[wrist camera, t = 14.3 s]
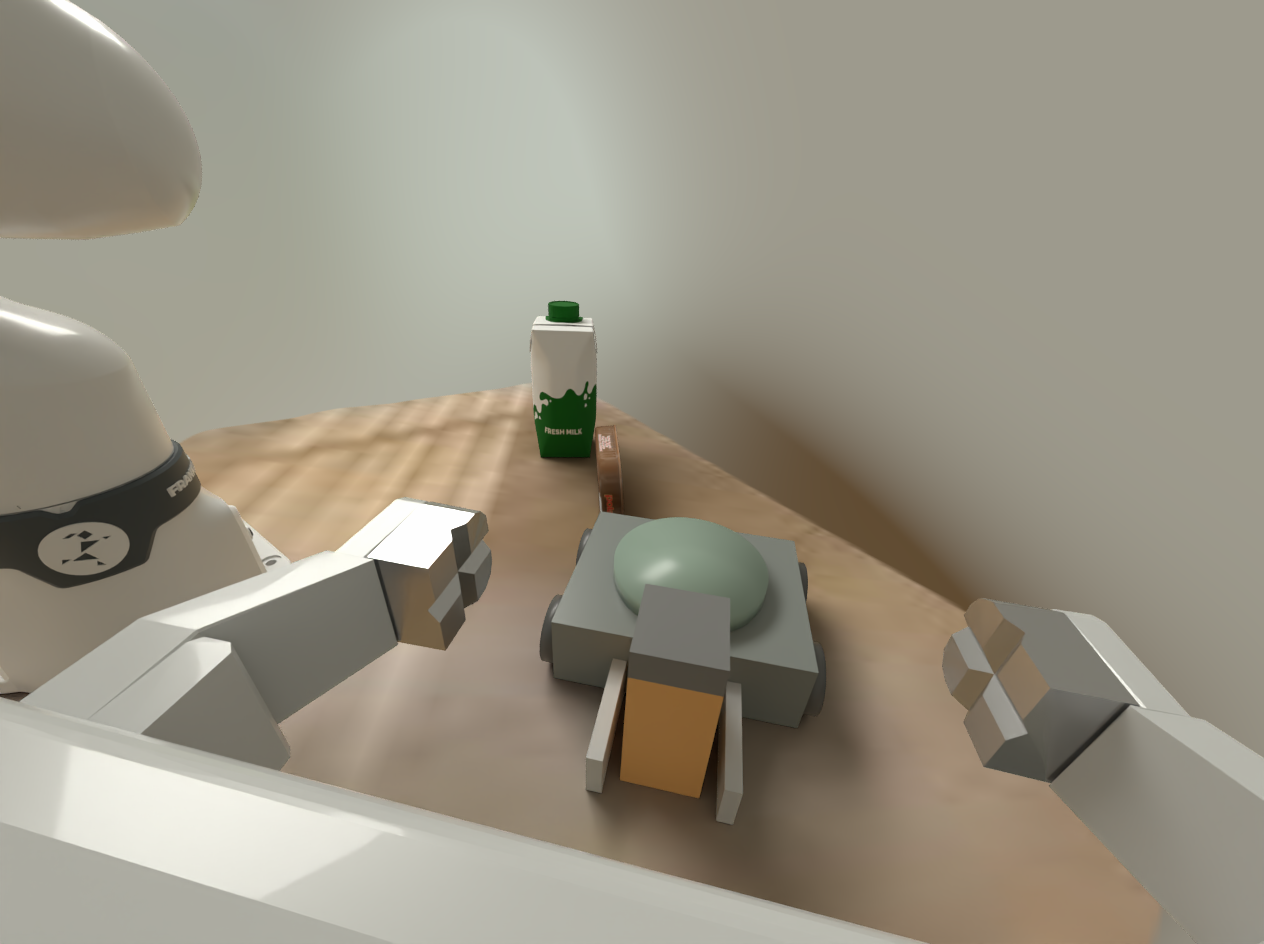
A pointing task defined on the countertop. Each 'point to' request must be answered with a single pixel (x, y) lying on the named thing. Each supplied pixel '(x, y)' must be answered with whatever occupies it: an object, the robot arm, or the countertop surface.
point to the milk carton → (564, 381)
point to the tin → (609, 470)
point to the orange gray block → (675, 688)
